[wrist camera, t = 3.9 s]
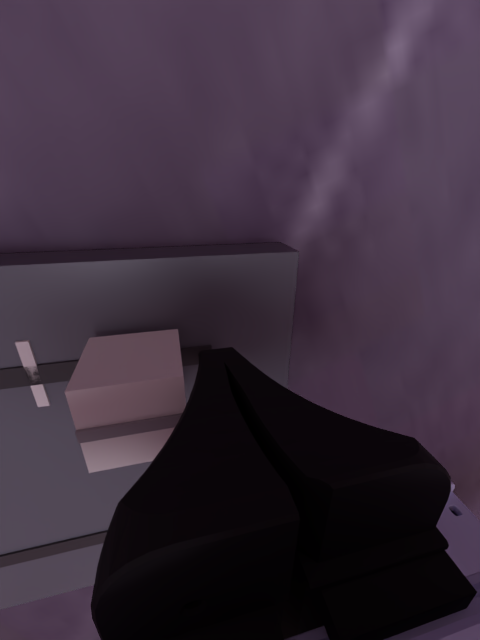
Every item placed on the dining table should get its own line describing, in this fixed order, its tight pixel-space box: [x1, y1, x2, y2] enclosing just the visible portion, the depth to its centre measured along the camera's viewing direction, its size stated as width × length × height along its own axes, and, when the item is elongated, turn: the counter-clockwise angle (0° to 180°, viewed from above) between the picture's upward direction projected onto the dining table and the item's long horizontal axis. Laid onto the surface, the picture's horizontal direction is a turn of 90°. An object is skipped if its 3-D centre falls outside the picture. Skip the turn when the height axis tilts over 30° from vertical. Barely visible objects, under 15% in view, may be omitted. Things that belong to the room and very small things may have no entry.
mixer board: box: [0, 242, 299, 610], centre depth 14 cm, size 20×18×2 cm
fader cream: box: [65, 329, 186, 473], centre depth 10 cm, size 3×3×3 cm
